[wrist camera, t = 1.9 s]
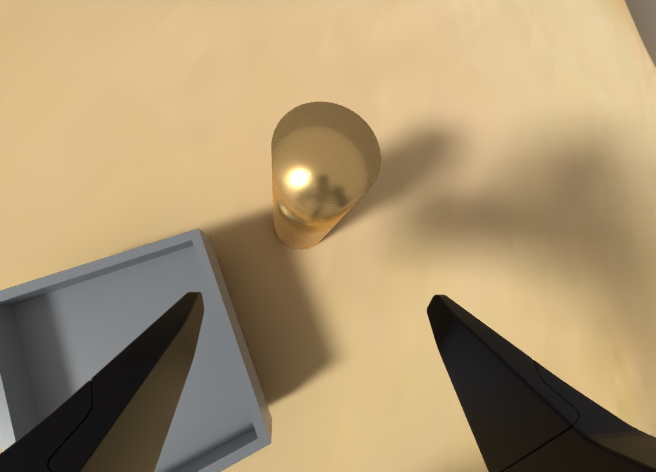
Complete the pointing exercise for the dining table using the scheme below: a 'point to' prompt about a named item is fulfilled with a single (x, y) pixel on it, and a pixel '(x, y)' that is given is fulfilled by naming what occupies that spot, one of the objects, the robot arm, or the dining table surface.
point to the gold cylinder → (319, 170)
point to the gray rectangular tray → (118, 332)
